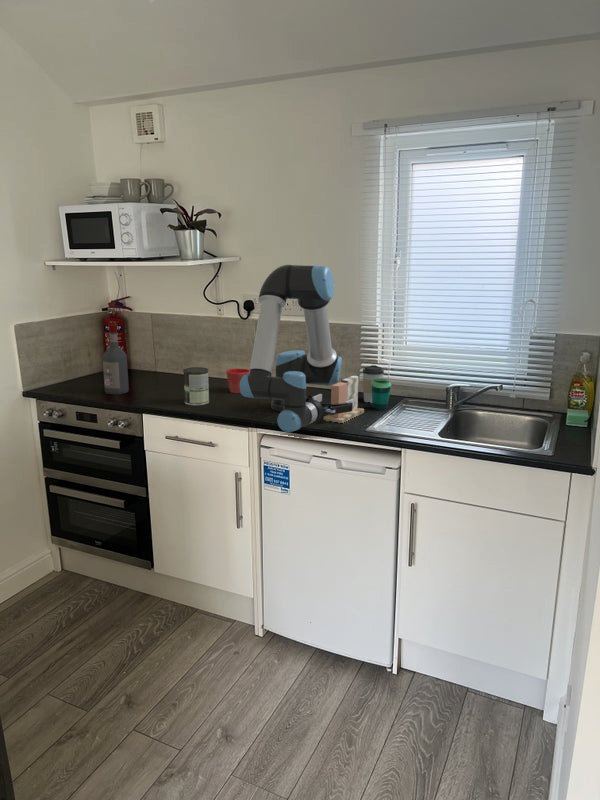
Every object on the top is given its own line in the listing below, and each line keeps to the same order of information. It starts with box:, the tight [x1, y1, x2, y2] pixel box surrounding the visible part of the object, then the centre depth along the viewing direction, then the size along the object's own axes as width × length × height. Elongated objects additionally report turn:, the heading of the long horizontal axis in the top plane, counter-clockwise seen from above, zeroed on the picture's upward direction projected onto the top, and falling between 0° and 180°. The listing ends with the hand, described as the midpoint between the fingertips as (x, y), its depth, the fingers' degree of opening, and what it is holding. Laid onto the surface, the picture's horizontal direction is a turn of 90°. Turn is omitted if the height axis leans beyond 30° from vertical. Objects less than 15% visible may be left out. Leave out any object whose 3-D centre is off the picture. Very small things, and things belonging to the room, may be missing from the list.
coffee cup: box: [362, 364, 385, 404], centre depth 262 cm, size 9×9×15 cm
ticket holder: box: [323, 375, 365, 424], centre depth 238 cm, size 19×8×14 cm, turn 149°
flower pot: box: [226, 368, 250, 394], centre depth 277 cm, size 11×11×10 cm
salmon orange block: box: [330, 381, 347, 417], centre depth 233 cm, size 7×3×12 cm, turn 149°
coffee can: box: [182, 366, 210, 406], centre depth 257 cm, size 10×10×14 cm
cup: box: [371, 377, 392, 410], centre depth 251 cm, size 8×8×12 cm
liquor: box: [102, 324, 130, 396], centre depth 271 cm, size 9×9×30 cm
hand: (337, 399), depth 231 cm, fingers open, 13 cm apart
